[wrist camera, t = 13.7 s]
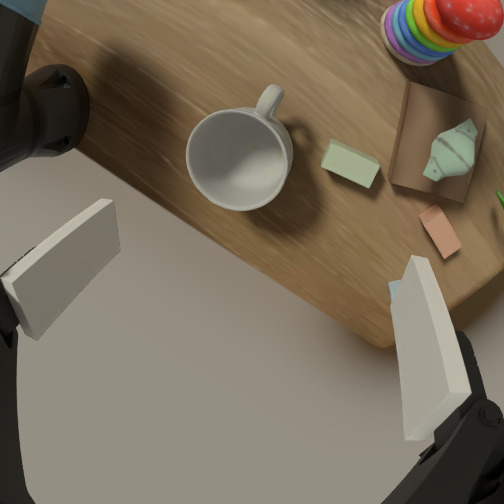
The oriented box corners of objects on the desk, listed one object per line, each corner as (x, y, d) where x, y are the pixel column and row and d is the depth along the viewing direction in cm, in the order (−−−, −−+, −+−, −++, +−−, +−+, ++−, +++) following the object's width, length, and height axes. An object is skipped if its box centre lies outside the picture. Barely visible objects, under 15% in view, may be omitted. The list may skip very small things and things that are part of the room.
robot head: (449, 107, 27) (473, 116, 21) (472, 132, 28) (499, 146, 22) (407, 158, 31) (423, 176, 26) (431, 181, 32) (450, 203, 26)
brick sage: (321, 159, 37) (321, 166, 34) (331, 137, 35) (331, 142, 33) (366, 180, 37) (368, 188, 34) (376, 159, 35) (380, 165, 32)
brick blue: (390, 297, 44) (393, 310, 42) (388, 281, 43) (390, 294, 41) (428, 289, 42) (432, 301, 40) (426, 272, 41) (431, 285, 38)
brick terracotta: (418, 215, 37) (423, 225, 35) (435, 202, 36) (442, 211, 33) (438, 247, 38) (444, 258, 36) (455, 235, 37) (462, 246, 35)
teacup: (259, 202, 41) (244, 231, 35) (193, 151, 39) (165, 169, 33) (332, 123, 34) (333, 135, 27) (259, 64, 32) (241, 61, 25)
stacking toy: (449, 66, 26) (539, 71, 11) (386, 67, 29) (441, 61, 13) (435, 4, 23) (513, -36, 7) (371, 4, 25) (408, -54, 10)
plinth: (387, 176, 35) (390, 183, 33) (406, 81, 29) (411, 81, 27) (456, 195, 34) (463, 203, 32) (479, 106, 28) (488, 109, 26)
